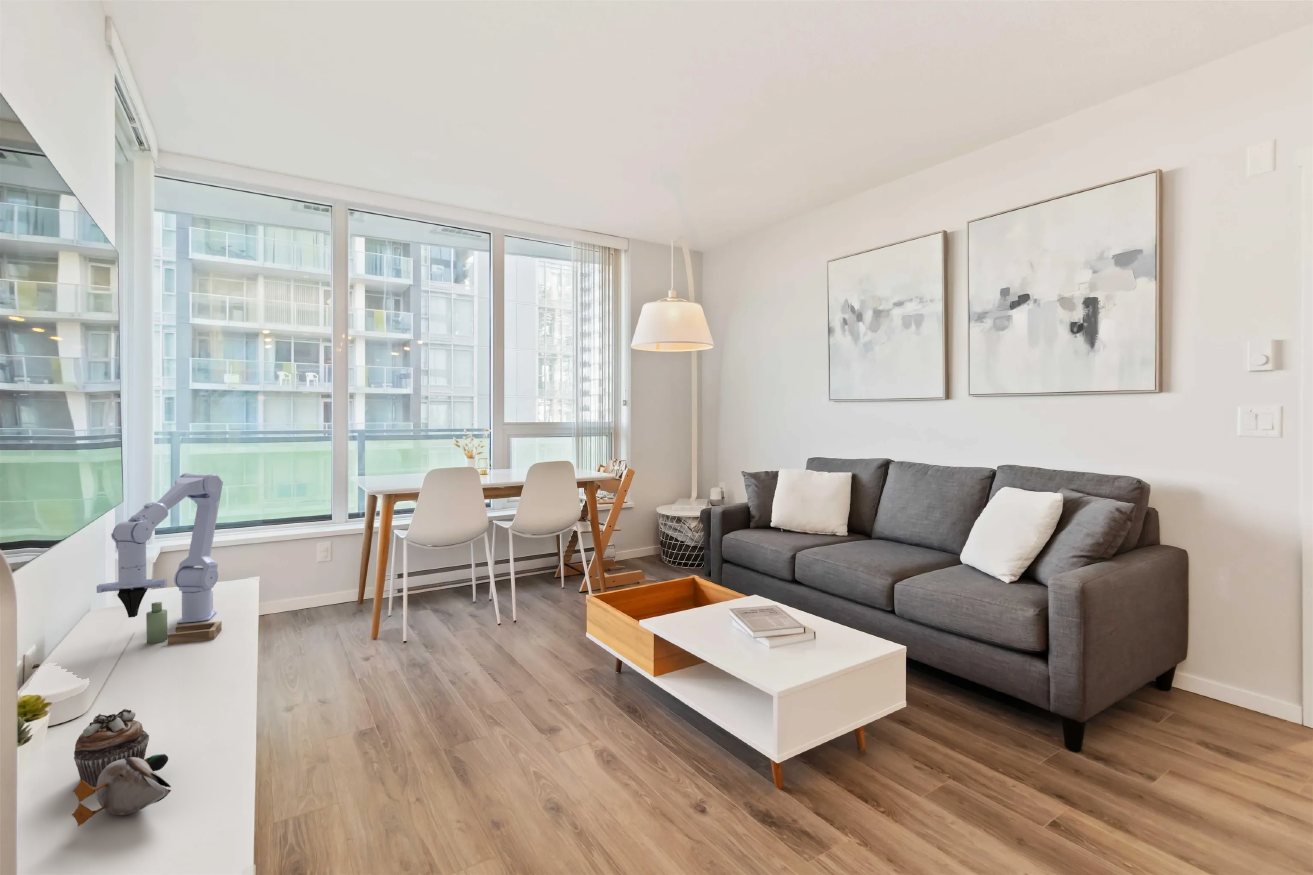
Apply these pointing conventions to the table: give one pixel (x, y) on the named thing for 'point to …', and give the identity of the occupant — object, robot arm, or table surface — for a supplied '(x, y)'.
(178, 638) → the u rest
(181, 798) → the table surface
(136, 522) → the robot arm
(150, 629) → the bottle
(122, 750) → the cupcake
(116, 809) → the decorative duck model
